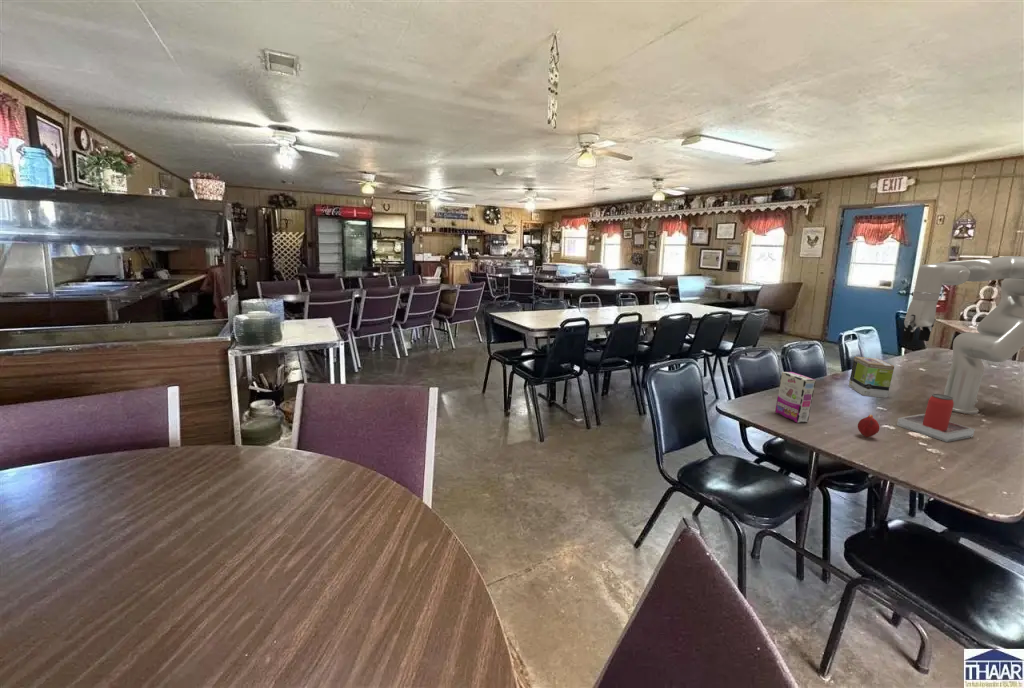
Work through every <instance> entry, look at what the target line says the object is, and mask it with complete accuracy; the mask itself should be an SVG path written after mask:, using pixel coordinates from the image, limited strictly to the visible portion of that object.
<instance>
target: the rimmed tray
mask: <svg viewBox="0 0 1024 688" xmlns="http://www.w3.org/2000/svg"><path fill="white" fill-rule="evenodd" d="M924 416H925V413H920V414H913V415H908V416H902V417H898V418H897V423H896V426H898V427H899V428H900V427H901V428H904V429H905V430H909V431H912V432H916V433H918V434H919V435H924V436H927V437H930V438H933V439H936V440H938V441H941V440H942V441H941V442H944V443H951V442H956V441H961V440H965V439H971V438H973V437H974V435H975V428H973V427H970V426H966V425H962V424H960V423H955V422H953V421H949V425H948V429H947V430H946V431H941V430H938V429H934V428H931V427H928V426H925V425H923V421H924ZM970 437H971V438H970Z"/></svg>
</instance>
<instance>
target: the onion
mask: <svg viewBox="0 0 1024 688" xmlns="http://www.w3.org/2000/svg"><path fill="white" fill-rule="evenodd" d="M857 429H858V432H859V433H860V434H862V436H863V437H864V438H869V437H873V436H876V435H877V433H879V431H880V424H879V422H878V421H877V420H876V419H875V418H874V415H873V414H869V415H868V416H867V417H863V418H861V419H860V420H859V421H858V424H857Z"/></svg>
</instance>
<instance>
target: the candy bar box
mask: <svg viewBox="0 0 1024 688" xmlns="http://www.w3.org/2000/svg"><path fill="white" fill-rule="evenodd" d="M779 381H780V382H779V386H778V393H777V399H776V405H775V411H774V413H775V412H776V413H775V414H777V413H778V414H777V415H779V414H780V416H781V415H782V417H784V418H785V419H788V420H791V421H792V422H794V423H797V424H805V423H804V422H807V423H809V418H810V413H811V407H812V404H813V403H812V401H813V397H814V391H815V387H816V383H817V380H816V379H814V378H811V377H809V376H806V375H802V374H800V373H796V372H793V371H782V372H781V375H780V380H779Z"/></svg>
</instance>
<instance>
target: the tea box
mask: <svg viewBox="0 0 1024 688" xmlns="http://www.w3.org/2000/svg"><path fill="white" fill-rule="evenodd" d="M853 358H854V359H853V362H852V367H851V372H850V377H849V381H848V382H849V383H848V387H850V388H851V389H852V390H854V391H856V392H857V393H858V394H860V395H862V396H866V397H874V398H875V397H876V398H884V399H887V398H888V396H889V392H890V388H891V387H890V386H891V382H892V379H893V374H894V372H895V371H894V370H895V365H893V364H891V363H889V362H887V361H885V360H882V359H880V358H876V357H875V358H874V357H867V356H866V357H865V356H854V357H853Z"/></svg>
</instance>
